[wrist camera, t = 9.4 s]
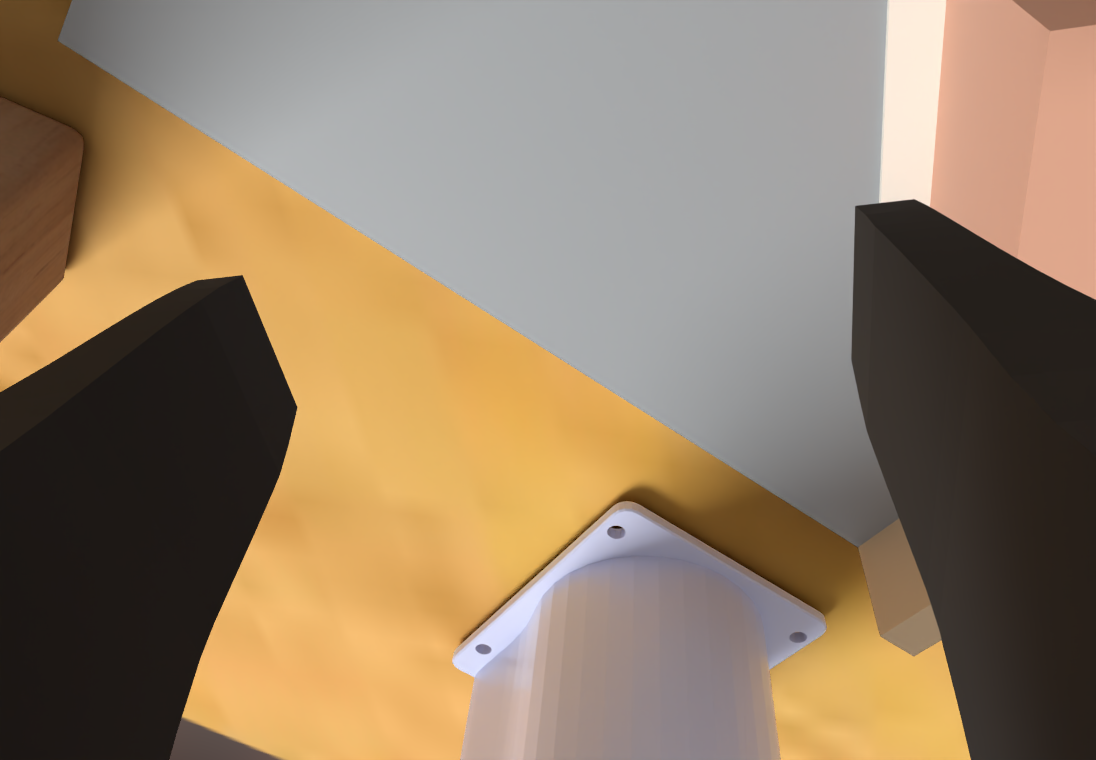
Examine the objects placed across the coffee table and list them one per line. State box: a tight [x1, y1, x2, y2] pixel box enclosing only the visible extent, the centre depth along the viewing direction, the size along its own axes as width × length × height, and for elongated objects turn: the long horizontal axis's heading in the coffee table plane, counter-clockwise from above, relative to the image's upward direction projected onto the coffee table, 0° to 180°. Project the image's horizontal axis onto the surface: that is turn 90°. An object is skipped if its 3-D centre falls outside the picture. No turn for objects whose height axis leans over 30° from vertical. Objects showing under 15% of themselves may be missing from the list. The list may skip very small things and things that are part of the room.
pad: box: [879, 0, 946, 207], centre depth 17 cm, size 7×7×1 cm
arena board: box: [58, 0, 942, 656], centre depth 17 cm, size 18×24×4 cm
